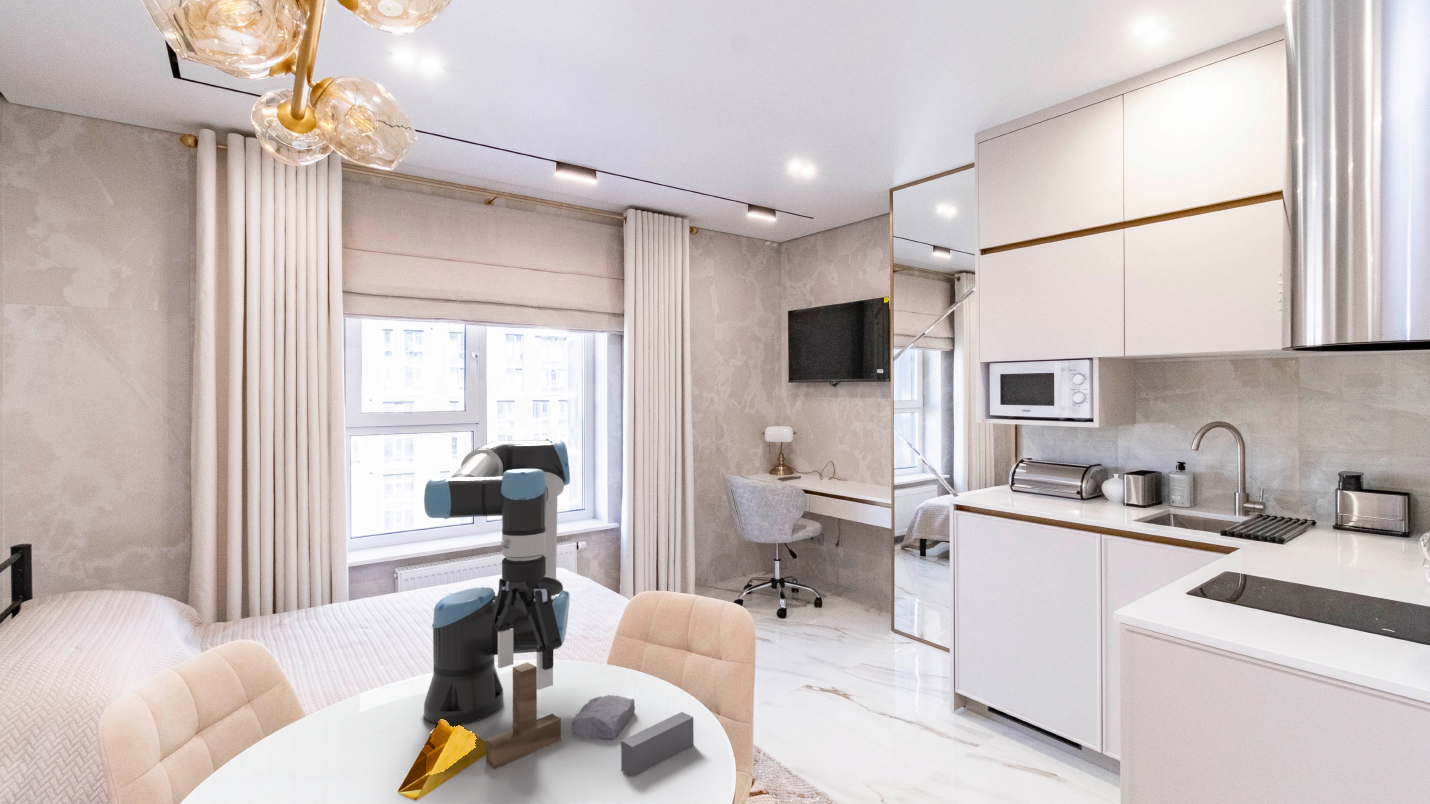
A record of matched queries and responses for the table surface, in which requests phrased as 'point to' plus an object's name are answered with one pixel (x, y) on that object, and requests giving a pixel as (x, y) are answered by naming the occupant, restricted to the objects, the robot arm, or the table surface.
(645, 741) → the block
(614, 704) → the stone block
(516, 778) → the table surface
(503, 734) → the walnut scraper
